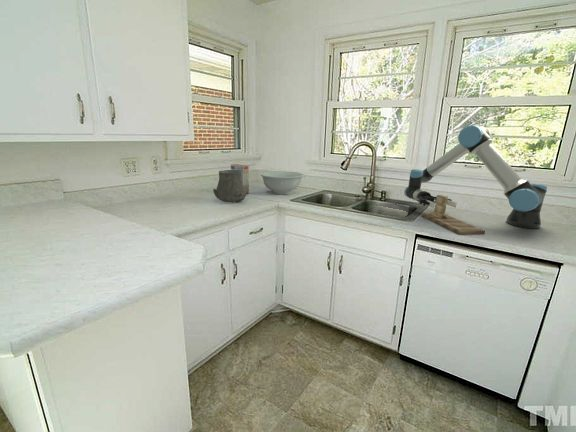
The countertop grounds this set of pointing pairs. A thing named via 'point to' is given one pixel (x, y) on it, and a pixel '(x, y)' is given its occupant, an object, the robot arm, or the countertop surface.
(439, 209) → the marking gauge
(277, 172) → the bowl
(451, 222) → the walnut board
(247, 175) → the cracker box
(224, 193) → the vessel
